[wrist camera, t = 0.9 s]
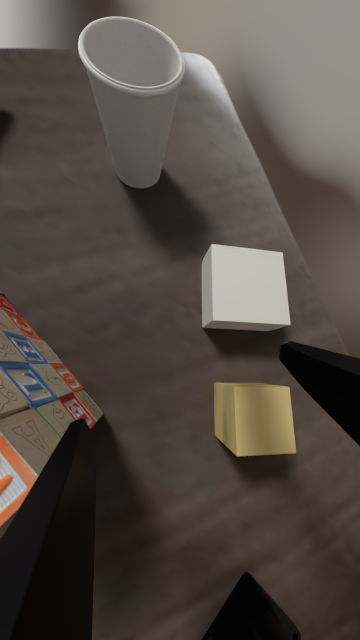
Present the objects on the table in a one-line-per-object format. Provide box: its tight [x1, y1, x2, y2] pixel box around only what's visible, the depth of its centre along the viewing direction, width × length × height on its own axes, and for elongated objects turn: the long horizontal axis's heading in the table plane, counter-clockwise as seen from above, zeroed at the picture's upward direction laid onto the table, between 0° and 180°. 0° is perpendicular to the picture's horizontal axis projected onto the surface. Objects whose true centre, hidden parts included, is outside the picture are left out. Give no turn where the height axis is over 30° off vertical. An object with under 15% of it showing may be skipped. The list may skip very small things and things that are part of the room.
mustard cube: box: [214, 383, 296, 456], centre depth 19 cm, size 5×5×5 cm
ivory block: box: [202, 244, 291, 331], centre depth 22 cm, size 8×8×4 cm
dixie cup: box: [78, 17, 185, 188], centre depth 21 cm, size 8×8×10 cm
